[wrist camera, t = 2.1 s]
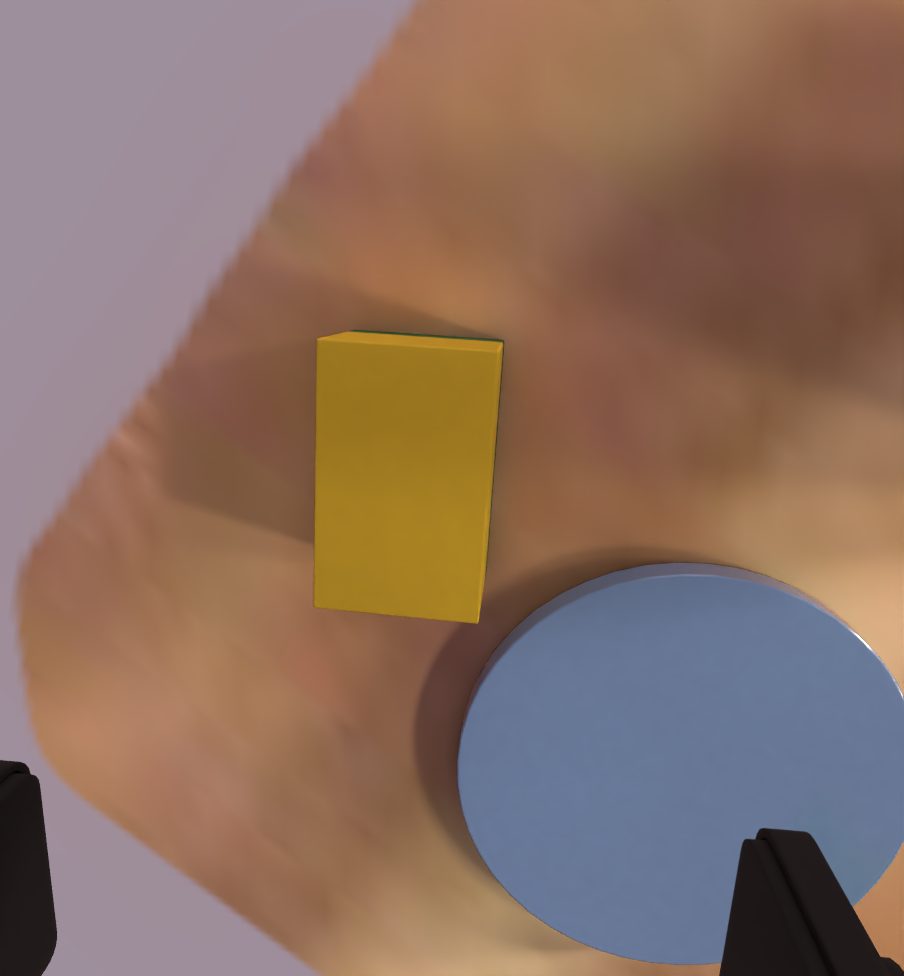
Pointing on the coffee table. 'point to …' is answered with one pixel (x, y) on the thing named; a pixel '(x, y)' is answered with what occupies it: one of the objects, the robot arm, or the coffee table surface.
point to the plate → (676, 753)
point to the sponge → (404, 472)
